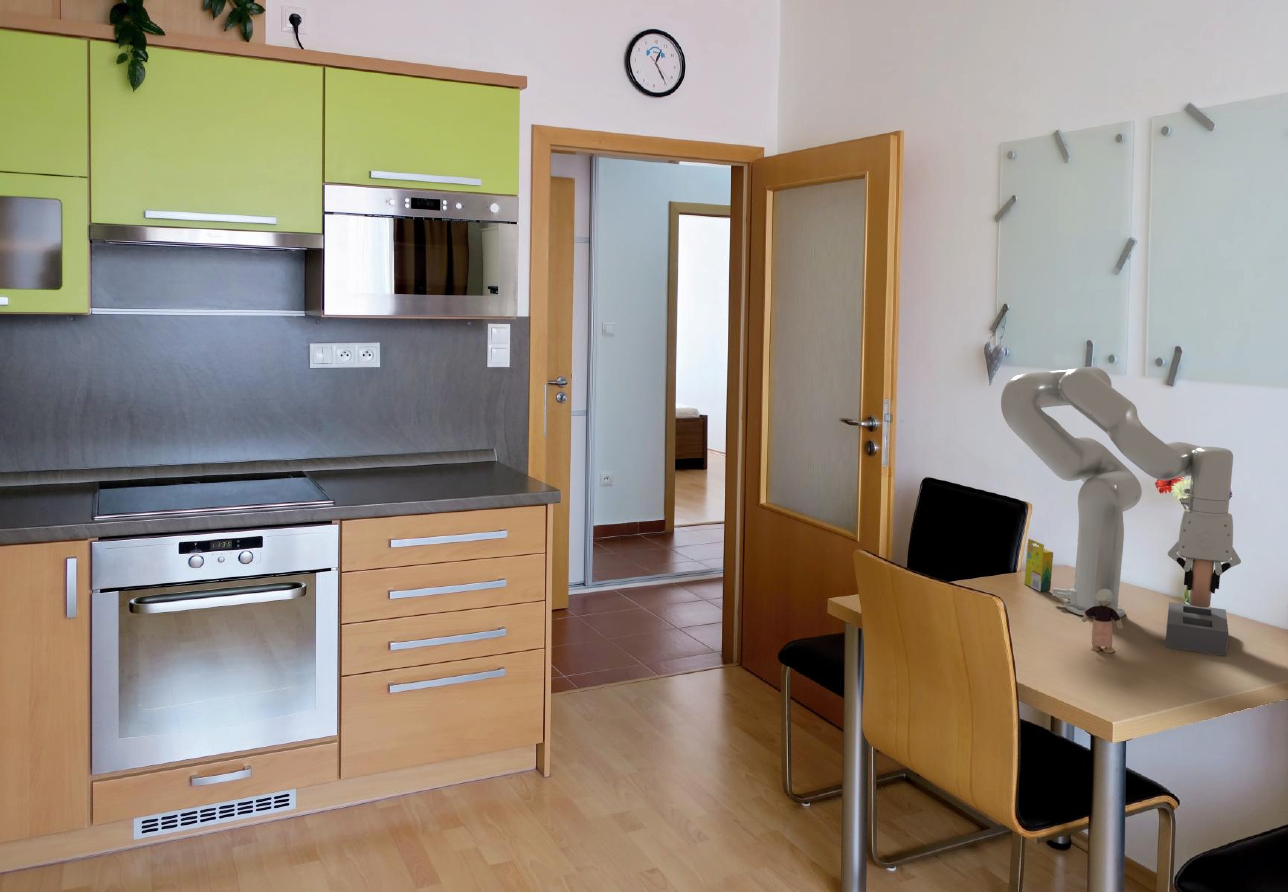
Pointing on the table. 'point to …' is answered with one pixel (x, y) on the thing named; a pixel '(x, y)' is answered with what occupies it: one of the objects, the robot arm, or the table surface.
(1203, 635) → the socket block
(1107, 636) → the grandmother figurine
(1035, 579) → the crayon box
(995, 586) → the table surface
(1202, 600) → the terracotta peg
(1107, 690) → the table surface
